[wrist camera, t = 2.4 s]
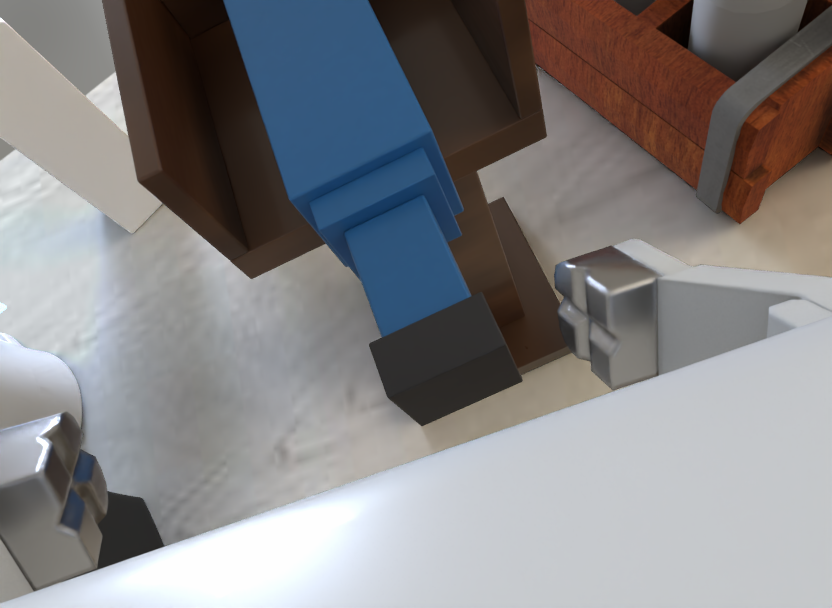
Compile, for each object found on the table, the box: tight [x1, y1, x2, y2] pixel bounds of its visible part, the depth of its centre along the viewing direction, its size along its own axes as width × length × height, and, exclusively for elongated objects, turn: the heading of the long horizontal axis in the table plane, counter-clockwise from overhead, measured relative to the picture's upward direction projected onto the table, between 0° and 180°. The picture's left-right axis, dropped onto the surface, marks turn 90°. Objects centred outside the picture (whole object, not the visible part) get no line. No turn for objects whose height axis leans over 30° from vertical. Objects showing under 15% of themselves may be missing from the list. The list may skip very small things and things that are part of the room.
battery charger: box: [51, 491, 165, 586], centre depth 41 cm, size 7×4×11 cm, turn 34°
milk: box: [0, 18, 163, 234], centre depth 49 cm, size 6×6×22 cm
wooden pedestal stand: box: [102, 0, 571, 375], centre depth 33 cm, size 12×12×29 cm
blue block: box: [223, 0, 523, 426], centre depth 21 cm, size 4×18×4 cm, turn 20°
